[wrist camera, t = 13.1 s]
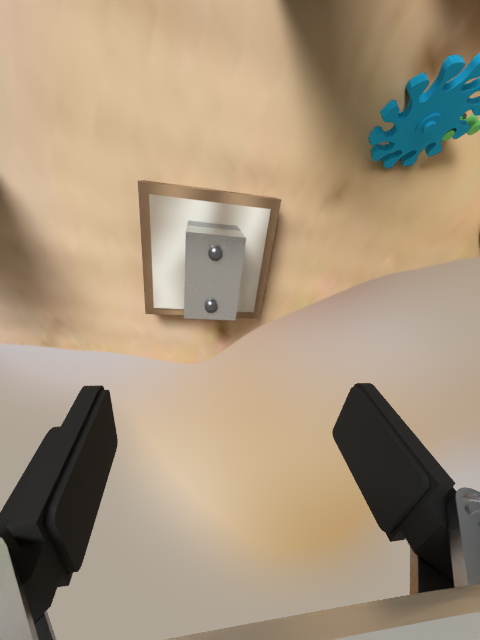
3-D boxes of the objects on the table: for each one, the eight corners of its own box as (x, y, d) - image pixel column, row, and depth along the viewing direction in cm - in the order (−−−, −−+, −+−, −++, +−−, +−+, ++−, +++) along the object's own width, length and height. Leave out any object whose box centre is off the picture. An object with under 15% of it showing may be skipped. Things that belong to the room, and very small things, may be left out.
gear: (349, 165, 27) (446, 46, 18) (338, 123, 28) (421, -8, 19) (426, 179, 30) (541, 84, 21) (412, 140, 32) (514, 36, 23)
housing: (236, 225, 27) (247, 238, 21) (229, 295, 30) (236, 322, 25) (188, 220, 26) (185, 232, 20) (186, 293, 30) (183, 320, 24)
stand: (273, 197, 29) (281, 199, 26) (254, 308, 36) (259, 319, 33) (143, 180, 26) (137, 181, 24) (149, 302, 33) (145, 315, 30)
